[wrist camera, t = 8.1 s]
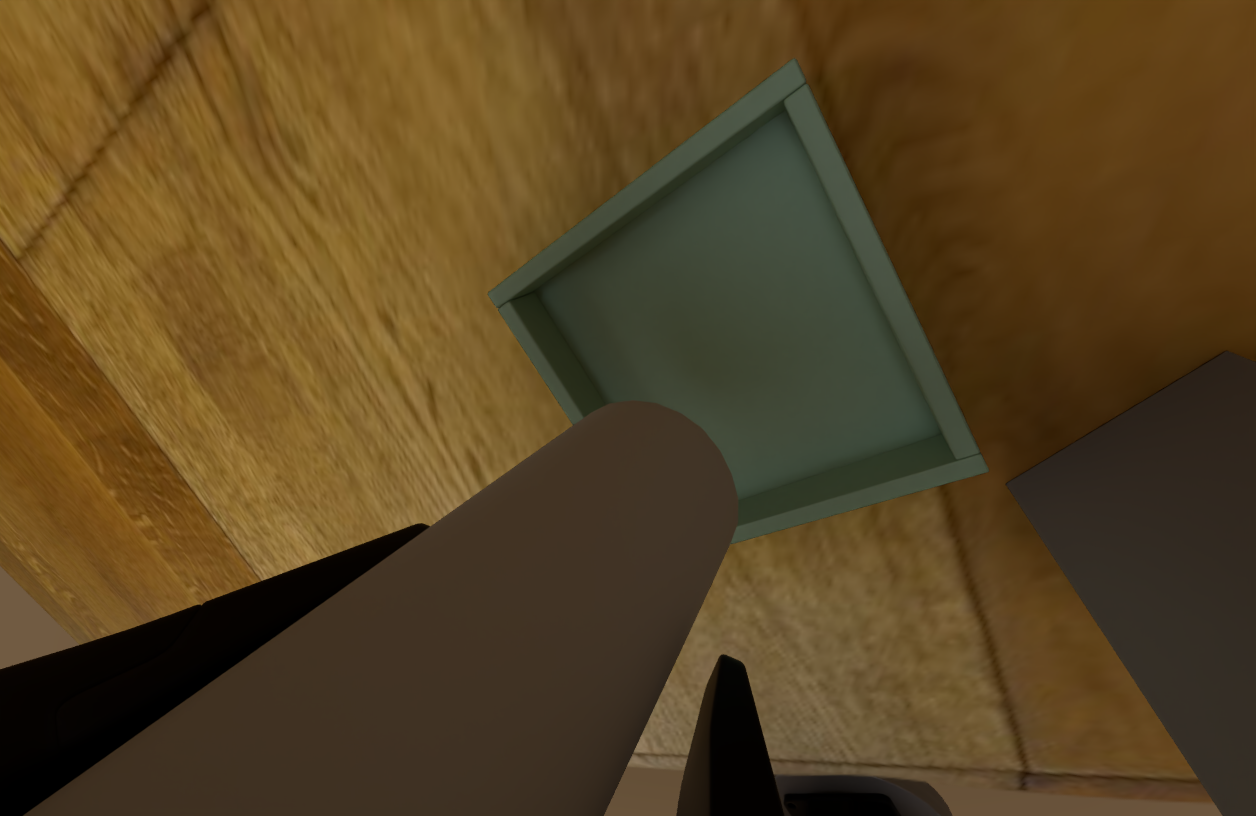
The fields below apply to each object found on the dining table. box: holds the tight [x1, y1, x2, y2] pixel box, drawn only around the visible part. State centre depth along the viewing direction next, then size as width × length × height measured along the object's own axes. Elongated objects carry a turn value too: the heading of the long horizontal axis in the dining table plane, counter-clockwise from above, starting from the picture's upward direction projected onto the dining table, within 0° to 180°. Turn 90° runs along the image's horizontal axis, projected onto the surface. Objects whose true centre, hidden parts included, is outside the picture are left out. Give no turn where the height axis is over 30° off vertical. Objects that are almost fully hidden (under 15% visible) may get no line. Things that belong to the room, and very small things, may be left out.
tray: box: [488, 58, 989, 544], centre depth 18 cm, size 13×12×3 cm
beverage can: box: [23, 400, 738, 816], centre depth 8 cm, size 5×5×12 cm
